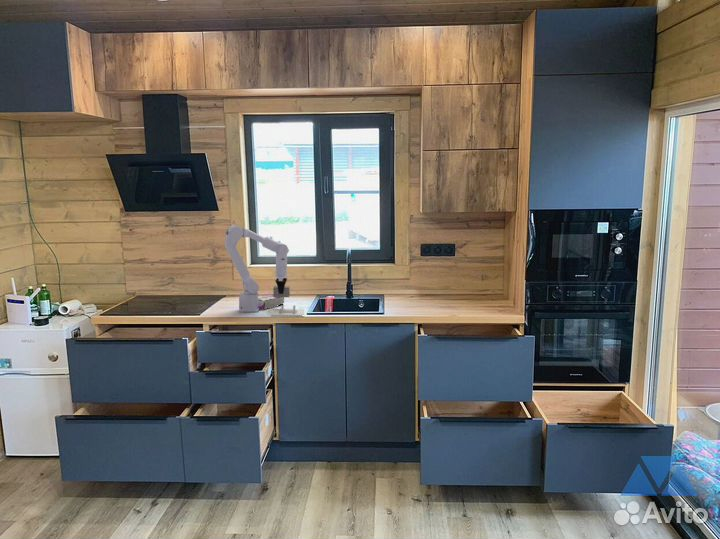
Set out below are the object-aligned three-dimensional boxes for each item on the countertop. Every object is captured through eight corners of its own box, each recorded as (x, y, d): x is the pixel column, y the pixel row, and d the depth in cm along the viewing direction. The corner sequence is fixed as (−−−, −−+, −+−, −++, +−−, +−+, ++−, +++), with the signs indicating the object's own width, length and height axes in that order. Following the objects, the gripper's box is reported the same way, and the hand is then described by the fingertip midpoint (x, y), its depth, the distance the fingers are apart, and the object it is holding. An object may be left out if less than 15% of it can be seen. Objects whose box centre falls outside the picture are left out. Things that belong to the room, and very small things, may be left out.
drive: (273, 296, 279) (273, 287, 278) (274, 295, 283) (274, 285, 282) (289, 297, 279) (289, 287, 279) (289, 295, 284) (289, 286, 283)
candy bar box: (268, 302, 298) (247, 307, 284) (268, 293, 297) (247, 297, 283) (284, 305, 292) (264, 309, 278) (284, 296, 292) (264, 300, 278)
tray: (270, 316, 264) (270, 309, 264) (272, 310, 278) (272, 304, 277) (303, 316, 265) (304, 309, 265) (304, 310, 279) (304, 304, 279)
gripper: (288, 268, 272) (288, 295, 274) (289, 265, 287) (289, 290, 289) (274, 268, 272) (274, 295, 274) (276, 265, 286) (276, 290, 288)
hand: (281, 292), depth 281 cm, fingers closed on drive, 4 cm apart
